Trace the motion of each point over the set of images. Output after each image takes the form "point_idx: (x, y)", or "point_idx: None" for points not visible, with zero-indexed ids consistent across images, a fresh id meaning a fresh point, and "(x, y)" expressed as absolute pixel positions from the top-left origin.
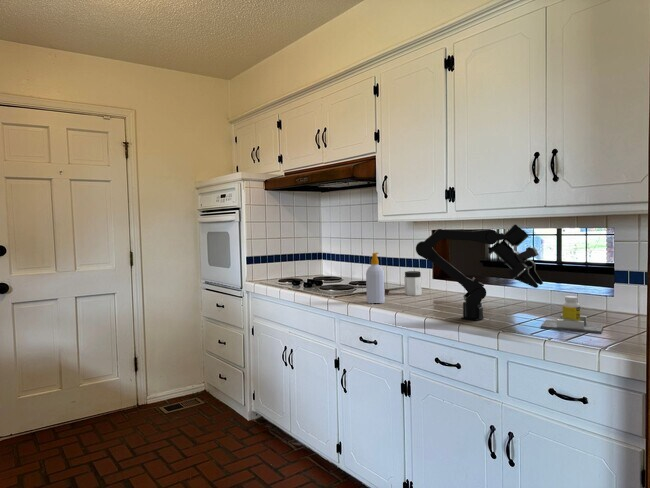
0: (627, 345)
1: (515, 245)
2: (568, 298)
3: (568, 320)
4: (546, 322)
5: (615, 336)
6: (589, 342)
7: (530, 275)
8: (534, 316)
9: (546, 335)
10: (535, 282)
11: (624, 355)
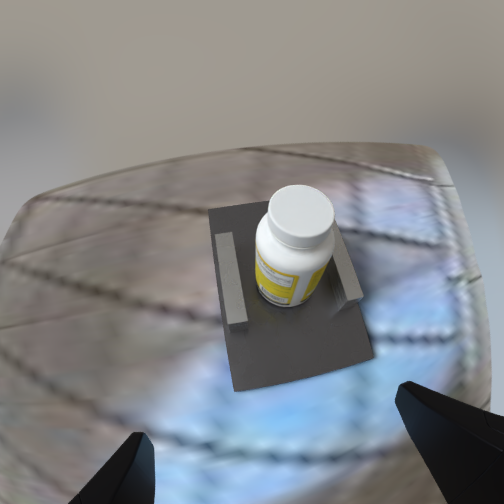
0: (377, 155)
1: None
2: (334, 217)
3: (345, 260)
4: (296, 369)
5: (318, 174)
6: (415, 205)
7: (495, 438)
8: None
9: (437, 300)
10: (440, 394)
11: (434, 159)
